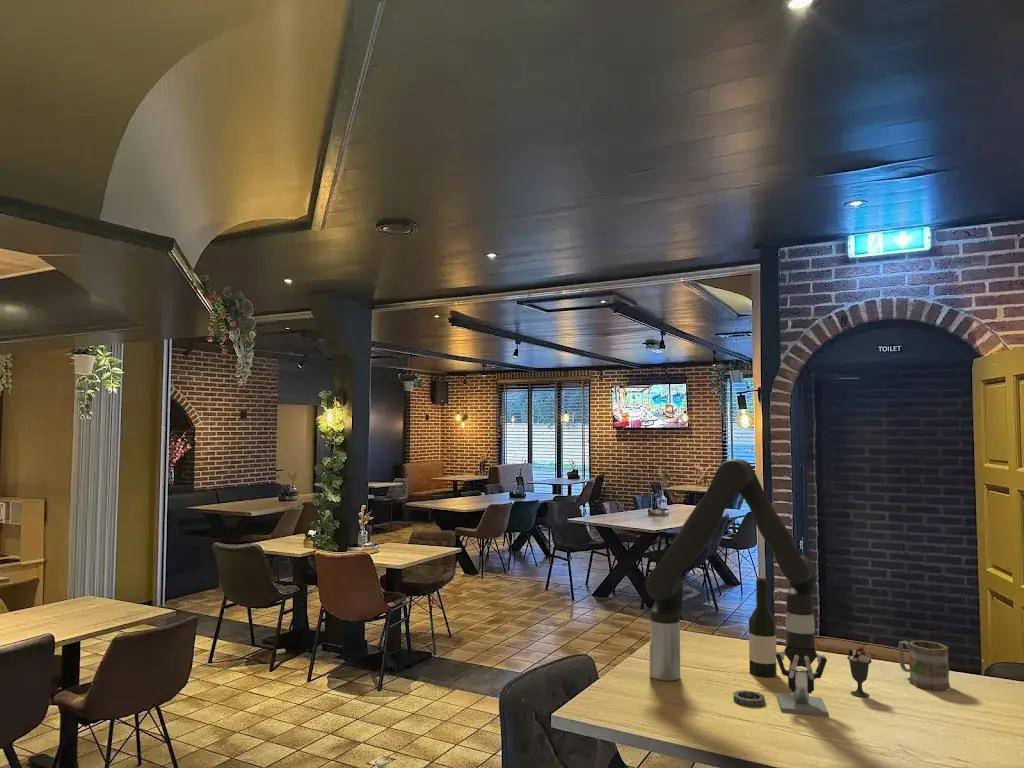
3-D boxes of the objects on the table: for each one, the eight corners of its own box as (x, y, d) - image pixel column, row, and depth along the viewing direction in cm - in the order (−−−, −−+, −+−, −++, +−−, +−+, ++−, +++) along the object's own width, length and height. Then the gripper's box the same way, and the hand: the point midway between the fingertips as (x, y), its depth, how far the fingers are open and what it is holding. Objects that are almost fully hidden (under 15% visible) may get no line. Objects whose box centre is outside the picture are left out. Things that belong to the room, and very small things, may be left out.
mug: (958, 689, 216) (957, 648, 217) (933, 693, 212) (931, 651, 213) (912, 673, 231) (911, 635, 232) (887, 677, 227) (886, 638, 228)
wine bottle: (773, 670, 232) (771, 575, 235) (780, 678, 224) (778, 580, 226) (746, 668, 233) (745, 575, 235) (752, 677, 225) (751, 579, 227)
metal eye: (734, 704, 201) (734, 699, 201) (732, 694, 209) (732, 689, 209) (765, 707, 199) (765, 702, 199) (763, 697, 207) (763, 692, 207)
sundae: (875, 699, 206) (874, 646, 208) (850, 697, 208) (849, 644, 209) (869, 691, 213) (867, 639, 214) (845, 689, 214) (843, 638, 215)
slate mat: (781, 711, 196) (781, 707, 196) (776, 696, 208) (776, 693, 208) (828, 716, 193) (828, 712, 193) (821, 701, 205) (821, 697, 205)
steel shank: (794, 701, 199) (794, 672, 200) (792, 696, 203) (792, 667, 204) (809, 703, 198) (809, 673, 199) (807, 698, 202) (807, 669, 203)
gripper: (774, 630, 200) (775, 693, 199) (829, 634, 197) (830, 699, 195) (772, 623, 208) (772, 684, 206) (824, 627, 204) (826, 689, 203)
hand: (801, 691), depth 201 cm, fingers closed on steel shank, 4 cm apart
